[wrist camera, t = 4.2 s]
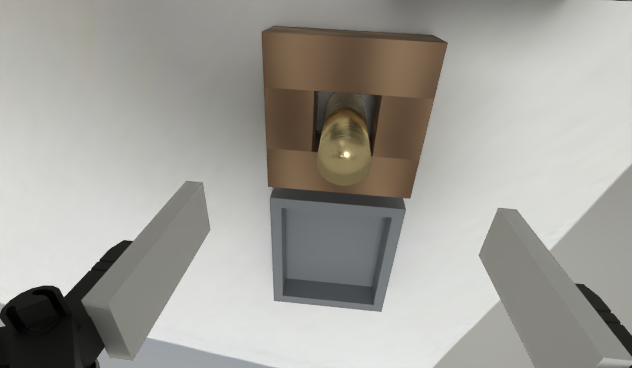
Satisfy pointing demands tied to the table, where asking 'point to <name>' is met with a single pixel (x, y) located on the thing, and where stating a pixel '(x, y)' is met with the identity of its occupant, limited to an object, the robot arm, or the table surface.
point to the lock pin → (344, 141)
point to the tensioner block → (348, 77)
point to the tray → (333, 247)
